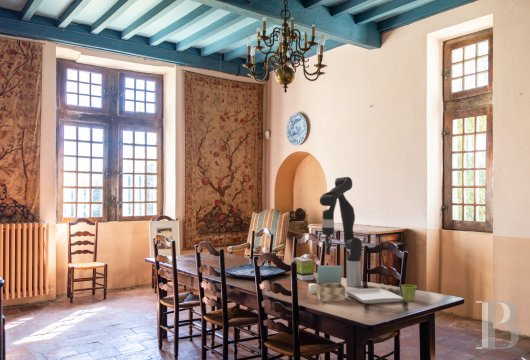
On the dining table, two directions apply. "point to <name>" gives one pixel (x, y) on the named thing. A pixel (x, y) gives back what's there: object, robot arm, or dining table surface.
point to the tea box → (304, 268)
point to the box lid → (329, 274)
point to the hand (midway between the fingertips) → (327, 254)
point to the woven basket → (330, 292)
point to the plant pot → (408, 292)
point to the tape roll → (312, 288)
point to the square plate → (373, 295)
